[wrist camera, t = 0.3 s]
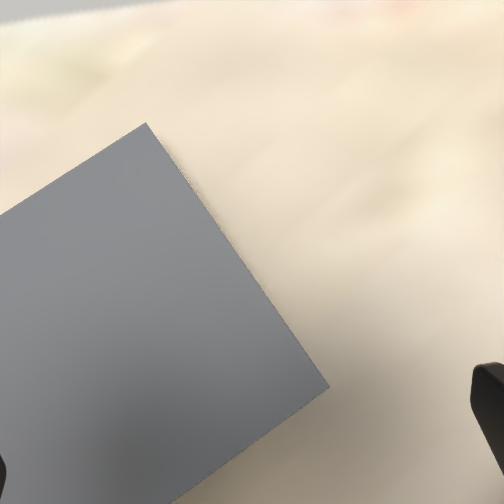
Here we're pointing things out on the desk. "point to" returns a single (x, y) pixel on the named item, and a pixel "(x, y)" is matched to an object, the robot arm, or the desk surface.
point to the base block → (132, 338)
